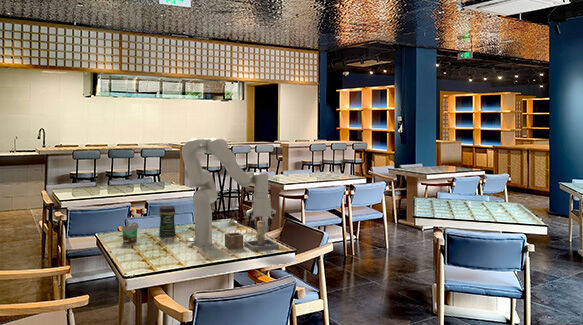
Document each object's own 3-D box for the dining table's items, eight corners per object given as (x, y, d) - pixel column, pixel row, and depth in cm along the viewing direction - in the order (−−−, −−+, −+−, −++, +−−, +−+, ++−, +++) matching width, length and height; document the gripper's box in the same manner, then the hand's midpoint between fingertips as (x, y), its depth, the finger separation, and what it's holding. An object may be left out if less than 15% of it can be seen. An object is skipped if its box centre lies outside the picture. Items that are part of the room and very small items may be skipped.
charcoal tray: (252, 252, 249) (252, 247, 248) (244, 246, 261) (244, 241, 261) (278, 250, 255) (278, 244, 254) (269, 244, 267) (269, 239, 267)
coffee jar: (159, 237, 282) (158, 207, 281) (159, 234, 290) (158, 205, 288) (175, 236, 285) (175, 206, 283) (175, 234, 292) (175, 204, 291)
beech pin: (258, 247, 255) (258, 222, 254) (256, 246, 259) (256, 221, 258) (265, 247, 257) (265, 221, 256) (263, 245, 260) (263, 220, 259)
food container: (131, 244, 266) (131, 226, 265) (121, 243, 267) (121, 226, 266) (142, 239, 278) (142, 222, 277) (133, 238, 279) (133, 222, 278)
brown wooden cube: (229, 251, 252) (229, 236, 251) (224, 247, 259) (224, 233, 258) (243, 249, 255) (243, 235, 254) (238, 246, 262) (238, 232, 262)
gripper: (248, 197, 249) (248, 229, 250) (278, 195, 256) (278, 226, 257) (244, 195, 256) (244, 226, 257) (273, 193, 263) (273, 223, 264)
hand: (261, 226), depth 257 cm, fingers open, 9 cm apart
